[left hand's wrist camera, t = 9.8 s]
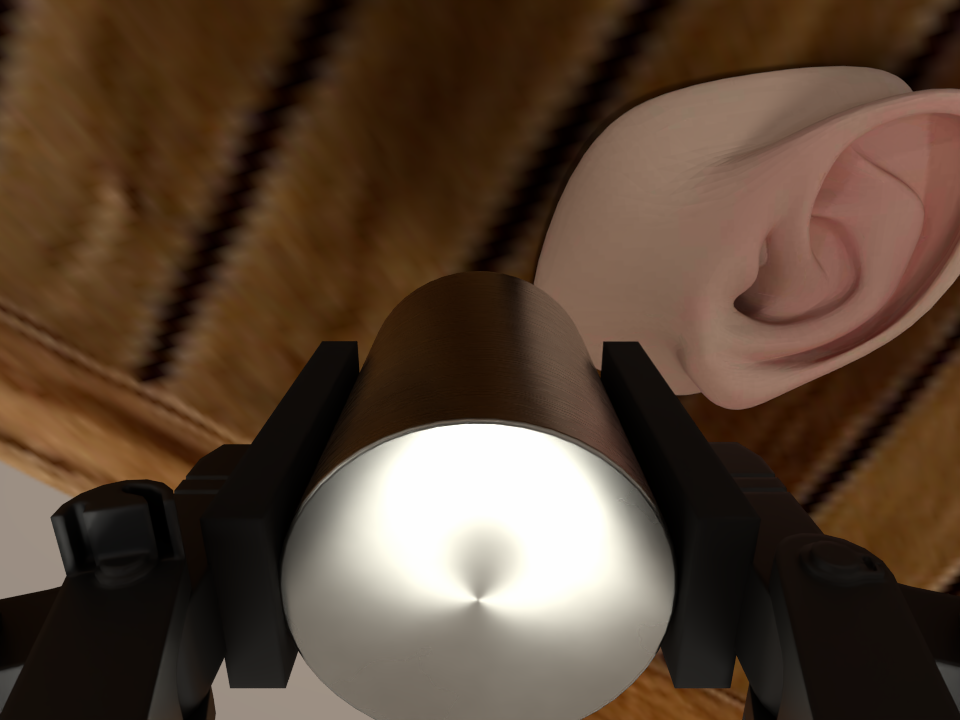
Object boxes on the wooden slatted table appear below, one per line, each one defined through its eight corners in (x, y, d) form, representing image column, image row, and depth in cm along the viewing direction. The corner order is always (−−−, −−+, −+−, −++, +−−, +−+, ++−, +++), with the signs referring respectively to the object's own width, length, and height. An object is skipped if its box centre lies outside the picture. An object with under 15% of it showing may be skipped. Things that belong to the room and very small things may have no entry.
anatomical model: (534, 439, 21) (559, 46, 17) (526, 389, 25) (545, 57, 21) (941, 448, 21) (1067, 61, 17) (872, 397, 25) (962, 69, 21)
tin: (367, 464, 17) (282, 733, 9) (372, 261, 15) (269, 403, 8) (572, 479, 17) (642, 754, 10) (602, 280, 15) (717, 435, 8)
